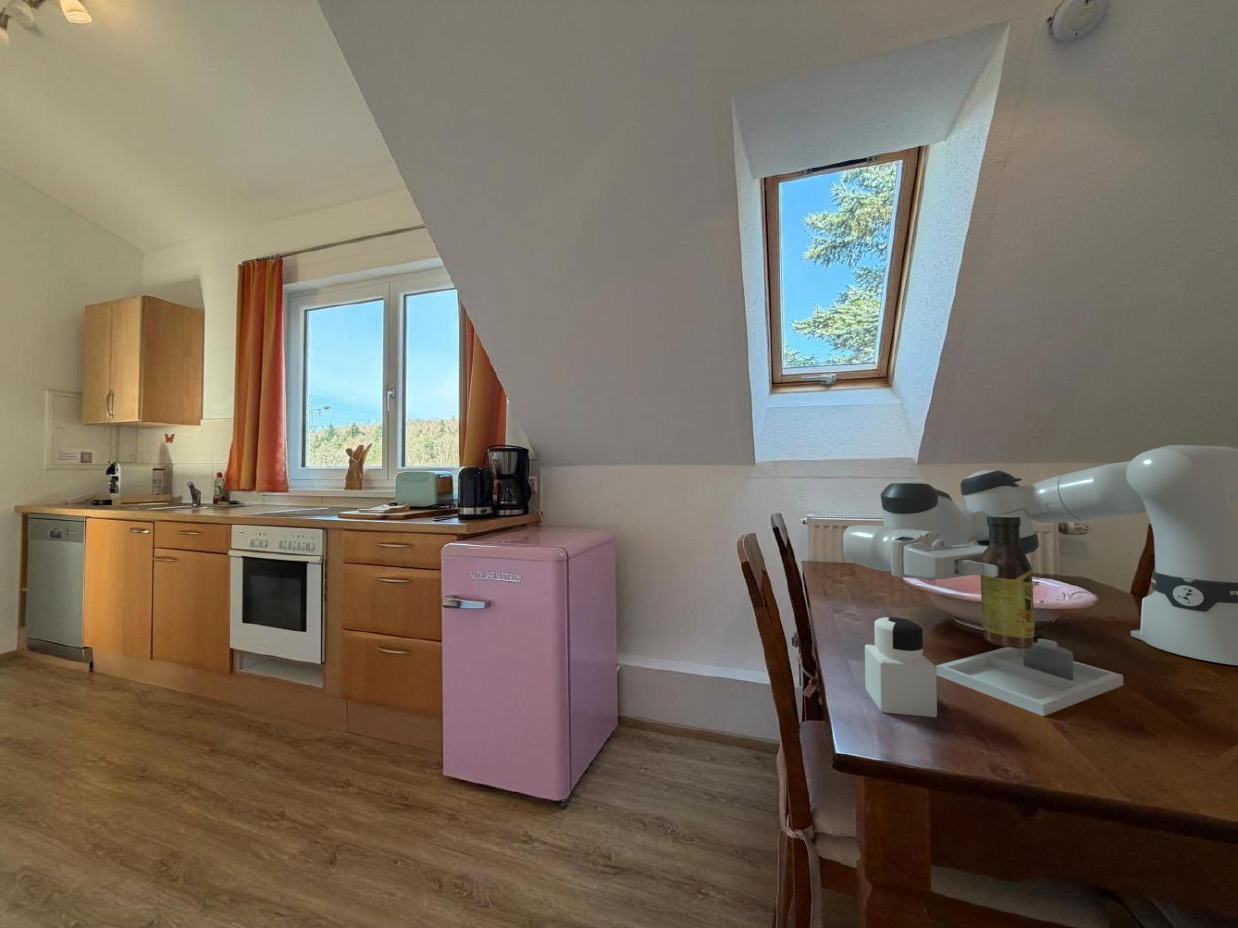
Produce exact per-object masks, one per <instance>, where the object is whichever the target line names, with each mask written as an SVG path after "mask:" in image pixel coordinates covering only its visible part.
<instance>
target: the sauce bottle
mask: <svg viewBox="0 0 1238 928" xmlns="http://www.w3.org/2000/svg"><path fill="white" fill-rule="evenodd" d="M987 524H988V526H989V539H988V540H989V542H990V544H989V546H988V547H987V548H986V550H985V551H984V552H983V554H982V556H981V563H991V564H998V565H1000V566H1001V567H1002V575H1001V576H997V577H990V576H984V575H980V594H981V597H980V599H981V620H982V621H981V624H982V625H981V626H982V629H983V637H984V639H985V640H986V641H987V642H989V643H991V644H992V645H997V646H999V647H1003V648H1005V647H1010V648H1016V649H1023V648H1030V647H1032V646H1033V644H1034V643H1033V642H1035V641H1034V637H1035V634H1036V633H1035V614H1034V613H1035V610H1034V609H1035V608H1034V588H1033V586H1034V584H1033V568H1032V566H1031V563H1030V561H1029V560H1028V557H1027V555H1025V553H1024V550H1023V548H1022V546H1021V544H1020V535H1019V533H1020V531H1019V527H1020V525H1021V522H1020V517H1019V516H1011V515H988V516H987Z"/></svg>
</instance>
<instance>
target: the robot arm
mask: <svg viewBox="0 0 1238 928" xmlns="http://www.w3.org/2000/svg"><path fill="white" fill-rule="evenodd" d="M1020 481H1023V479H1022V477H1019V478H1016V477H1015V476H1013V475H1012V474H1010V473H1008V472H1005V471H1002V470H993V469H992V470H991V469H990V470H989V469H987V470H986V469H985V470H979V471H976V472H974V473H971V474H969V475H968V476H967V477H966V478H964V479H962V480H961V482H960V493H961V496H963V498H964V503H965V506H966V507H965V506H963V505H959V504H956V503H955V502H954V501H953V498H952V497H951V496H950V494H948V493H947V492H944V491H942V490H940V489H937V488H934V487H933V486H932V485H931V484H929V483H925V482H923V481H917V480H899V481H894V482H892V483H889V484H888V485H887V486H886V487H885V488H884V489H883V490H882V492H880V501H881V508H882V519H883V520H882V521H883V525H877V524H876V525H873V524H857V525H856V524H855V525H854V524H853V525H850V526H847V528H845V530H844V531H843V535H842V537H841V538H842V540H841V541H842V542H841V544H842V546H841V547H842V553H843V555H844V557H845V559H847V560H848V561H850V562H851V563H854V564H857V565H859V566H863V567H866V568H869V569H873V570H877V571H882V572H891V575H892V576H893V577H898V578H900V579H901V578H902V579H907V578H913V579H918V580H925V581H928V582H929V581H931V582H933V581H936V580H947V579H952V578H959V577H960V578H961V577H966V576H968V577H969V576H981V575H984V576H990V577H997V576H1001V575H1002V567H1001V566H1000V565H998V564H991V563H981V556H982V554H983V552H984V551H985V550H986V548H987V547H988V546H989V544H990V542H989V540H988V539H989V526H988V524H987V516H988V515H1011V516H1019V517H1020V522H1021V525H1020V527H1019V531H1020V533H1019V535H1020V544H1021V546H1022V548H1023V550H1024V553H1025V555H1026V556H1028V555H1030V554H1031V553H1034V552H1035V551H1037V549H1039V547H1040V541H1039V535H1038V533H1036V532H1035V527H1034V525H1033V522H1032V521H1035V522H1037V523H1048V524H1049V523H1075V522H1083V521H1090V520H1096V519H1105V518H1111V517H1119V516H1126V515H1133V514H1143V513H1146V514H1147V516H1148V519H1149V521H1150V525H1151V529H1152V535H1153V544H1154V545H1153V547H1154V566H1155V567H1154V569H1155V570H1153V571H1152V573H1151V580H1150V581H1151V584H1152V585H1151V587H1152V590H1153V592H1152V593H1151V594H1149V595H1146V596H1145V597H1143V598H1142V601H1141V615H1140V629H1135V630H1131V631H1130V635H1131V637H1133V638H1136V639H1138V640H1141V641H1143V642H1145V643H1146V644H1147V645H1149V646H1151V647H1153V648H1156V649H1159V650H1162V651H1165V652H1168V653H1172V654H1176V655H1178V656H1183V657H1188V658H1192V659H1197V660H1201V661H1207V662H1213V663H1216V664H1217V663H1218V664H1225V665H1232V666H1238V523H1237V521H1236V517H1235V516H1234V513H1233V510H1232V507H1231V503H1233V502H1237V501H1238V448H1236V447H1231V446H1223V445H1216V446H1215V445H1197V444H1196V445H1195V444H1194V445H1193V444H1192V445H1190V444H1186V445H1185V444H1171V445H1169V444H1168V445H1165V446H1160V447H1156V448H1152V449H1150V450H1147V451H1144V452H1141V453H1139V454H1137V456H1135V457H1134V458H1133V459H1131V460H1129V461H1122V462H1120V461H1119V462H1114V463H1108V464H1104V465H1099V466H1093V467H1090V468H1087V469H1086V468H1085V469H1082V470H1077V471H1071V472H1069V473H1064V474H1060V475H1057V476H1056V475H1055V476H1053V477H1052V476H1051V477H1049V478H1046V479H1044V480H1043V479H1042V480H1041V481H1037V482H1035V483H1032V484H1028V485H1023V486H1022V485H1020V484H1018V482H1020ZM973 541H975V543H977V544H970V543H972V542H973Z"/></svg>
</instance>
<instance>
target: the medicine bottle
mask: <svg viewBox="0 0 1238 928" xmlns="http://www.w3.org/2000/svg"><path fill="white" fill-rule="evenodd" d="M923 639H924V638H923V628H922V627H921V626H920V624H918V623H916V622H914V621H912V620H909V619H907V618H902V617H901V618H900V617H894V616H886V617H885V616H884V617H880V618H877V619H876V620H875V621H874V644H865V646H864V675H865V677H864V678H865V681H864V682H865V684H864V685H865V688H864V689H865V691H866V692H867V694H868V695H869V696H870V698H871V699H872V701H873V702H874V703H875V705H876V706H877V707H878V709H879V711H880V712H881V713H883V714H894V715H905V716H906V715H907V716H913V717H924V718H925V717H926V718H937V716H938V703H937V701H938V699H937V698H938V696H937V695H938V692H937V690H938V689H937V688H938V687H937V671H936V665H934V663H932V662H931V661H930V660H929V659H928V658H927V657H925V656H924V655H923V654H924V647H923V645H924V644H923Z"/></svg>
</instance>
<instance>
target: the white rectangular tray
mask: <svg viewBox="0 0 1238 928" xmlns="http://www.w3.org/2000/svg"><path fill="white" fill-rule="evenodd" d="M935 666H936V676H938V677H941V678H944V679H946V680H949V681H951V682H954V683H955V684H956V683H957V684H959V685H961V686H963V687H967V688H969V689H971V690H974V691H977V692H979V693H982V694H985V695H987V696H990V697H992V698H995V699H997V700H1000V701H1003V702H1004V703H1008V704H1010V705H1013V706H1016V707H1018V708H1021V709H1024V710H1026V711H1029V712H1030V713H1031V712H1032V713H1034V714H1037V715H1039V716H1042V717H1044V716H1048V715H1050V714H1053V713H1055V712H1058V711H1061V710H1063V709H1066V708H1068V707H1071V706H1074V705H1076V704H1078V703H1081V702H1084V701H1086V700H1089V699H1091V698H1094V697H1096V696H1099V695H1101V694H1105V693H1107V692H1110V691H1112V690H1115V689H1117V688H1120V687H1122V686H1124V675H1123V674H1120V673H1118V672H1113V671H1111V670H1107V669H1103V668H1099V667H1097V666H1096V667H1095V666H1092V665H1089V664H1086V663H1082V662H1078V661H1075V660H1073V680H1072V681H1070V680H1067V679H1064V678H1061V677H1058V676H1055V675H1051V674H1048V673H1045V672H1042V671H1039V670H1036V669H1032V668H1029V667H1026V666H1024V659H1023V649H1016V648H1010V647H1001V648H998V649H994V650H991V651H987V652H982V653H978V654H974V655H972V656H971V655H970V656H967V657H964V658H960V659H957V660H952V661H948V662H944V663H941V664H937V665H935Z"/></svg>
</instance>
